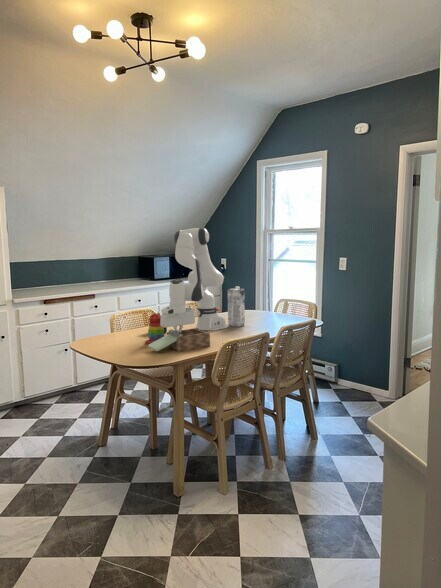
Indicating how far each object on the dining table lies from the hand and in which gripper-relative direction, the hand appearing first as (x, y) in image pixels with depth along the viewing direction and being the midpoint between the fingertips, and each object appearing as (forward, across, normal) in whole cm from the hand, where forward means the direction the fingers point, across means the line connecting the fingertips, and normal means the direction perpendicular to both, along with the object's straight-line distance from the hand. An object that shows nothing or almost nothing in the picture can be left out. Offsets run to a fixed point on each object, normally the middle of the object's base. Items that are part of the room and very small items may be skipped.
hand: (178, 333), depth 241 cm
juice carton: (+8, -60, -29) cm, 67 cm away
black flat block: (+9, -6, -41) cm, 43 cm away
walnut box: (+8, -6, 0) cm, 11 cm away
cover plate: (+4, +8, 0) cm, 9 cm away
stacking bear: (+9, +6, -18) cm, 21 cm away
